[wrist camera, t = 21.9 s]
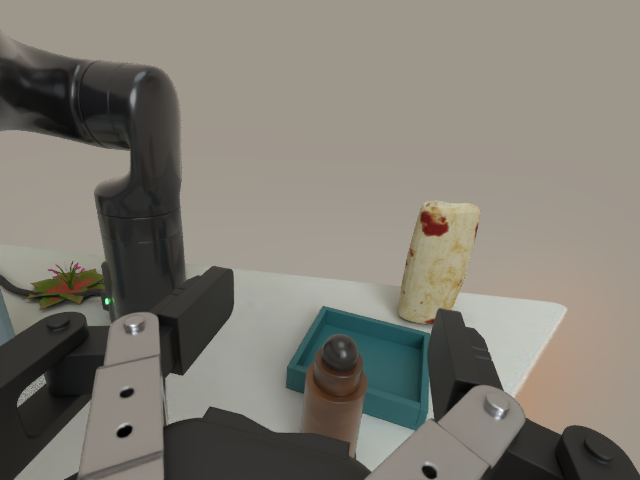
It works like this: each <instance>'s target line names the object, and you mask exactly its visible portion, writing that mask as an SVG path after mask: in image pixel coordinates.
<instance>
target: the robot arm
mask: <svg viewBox="0 0 640 480" xmlns="http://www.w3.org/2000/svg"><path fill="white" fill-rule="evenodd" d="M5 130H21V131H29V132H36V133H40V134H46V135H51V136H55V137H60V138H64V139H68V140H72V141H76V142H80V143H84V144H88V145H92V146H96V147H101V148H107V149H116V150H126V151H130V171H129V172H128V173H127V174H126V175H124V176H120V177H116V178H112V179H109V180H106V181H103V182H101V183H99V184H98V185H97V186H96V188H95V191H94V197H95V203H96V209H97V214H98V220H99V226H100V231H101V236H102V242H103V248H104V253H105V259H106V261H104V262H103V263H102V265H101V268H102V273H103V279H104V284H105V289H89V290H86V291H84V292H76V293H66V294H74V295H75V296H84V297H83V298H85V297H88V296H90V295H101V299H102V305H103V309H104V310H107V311H109V312H110V317H111V323H112V324H111V326H87V321H86V317H85V315H83V314H81V313H78V312H63V313H58V314H54V315H51V316H48V317H46V318H44V319H42V320H40V321H39V322H37V323H35V324H34V325H32V326H31V327H29V328H28V329H26V330H25V331H23V332H21V333H20V334H18V335H17V336H15V337H14V338H12V339H10V340H9V341H7V342H6V343H4V344H3V345H1V346H0V480H13V479H14V478H15V477H16V476H17V475H18V474H19V473H20V472H21V471H22V470H23V469H24V468H25V467H26V466H27V465H28V464H29V463H30V462H31V461H32V460H33V459H34V458H35V457H36V456H37V455H38V454H39V453H40V451H41V450H42V449H43V448H44V447H45V446H46V445H47V444H48V443H49V442H50V441H51V440H52V439H53V438H54V437H55V436H56V435H57V434H58V433H59V432H60V431H61V430H62V429H63V428H64V427H65V426H66V425H67V424H68V423H69V421H70V420H71V419H72V418H73V417H74V416H75V415H76V414H77V413H78V412H79V411H80V410H81V409H82V408H83V407H84V406H85V405H86V404H87V403H88V402H89V401H90V400H91V404H90V410H89V415H88V421H87V427H86V432H85V438H84V444H83V450H82V455H81V461H80V467H79V472H77V473H75V474H74V475H72V476H70V477H68V478H66V479H64V480H640V475H639V473H638V472H637V470H636V468H635V467H634V465H633V463H632V462H631V460H630V459H629V457H628V456H627V455H626V453H625V452H624V451H623V450H622V449H621V448H620V447H619V446H618V445H616V444H615V443H614V442H613V441H611V440H610V439H609V438H607V437H605V436H604V435H602V434H601V433H599V432H597V431H594V430H592V429H590V428H587V427H583V426H576V425H574V426H569V427H567V428H565V430H564V431H563V433H562V435H560V434H558V433H556V432H553V431H551V430H549V429H547V428H545V427H543V426H541V425H538V424H536V423H534V422H532V421H531V420H529V419H527V418H526V417H525V413H524V410H523V408H522V407H521V405H520V404H519V403H518V402H517V401H516V400H515V399H514V398H513V397H512V396H510V395H509V394H508V393H506V392H504V390H503V388H502V385H501V382H500V380H499V377H498V374H497V372H496V369H495V366H494V364H493V361H491V359H492V358H491V356H490V353H489V352H488V348H487V345H486V343H485V340H484V338H483V337H482V336H481V335H480V334H479V333H478V332H477V331H476V330H475V329H474V328H469V327H465V324H464V321H463V318H462V314H461V312H458V311H453V310H447V309H442V308H439V309H438V310H437V313H436V316H435V320H434V324H433V328H432V332H431V336H430V339H429V344H428V350H427V362H428V370H429V379H430V387H431V395H432V404H433V412H434V419H432V418H431V419H428V420H427V421H426V422H425V423H423V424H422V425H421V426H420V427H419V428H418V429H417V430H416V431H415V432H414V433H413V434H412V435H411V436H410V437H409V438H408V439H407V440H405V441H404V442H403V443H402V444H401V445H400V446H399V447H398V448H397V449H396V450H395V451H394V452H393V453H392V454H391V455H390V456H389V457H387V458H386V459H385V460H384V461H383V462H382V463H381V464H380V465H379V466H378V467H377V468H376V469H375V470H374V471H373V472H371V471H370V470H369V469H367V468H366V467H365V466H364V465H363V464H361V463H360V462H359V461H357V460H356V459H354V458H352V457H351V456H349V449H350V442H346V441H342V440H338V439H335V438H331V437H327V436H323V435H319V434H315V433H276V432H273V431H270V430H269V429H267V428H265V427H263V426H261V425H260V424H258V423H256V422H254V421H253V420H251V419H249V418H247V417H245V416H244V415H241V414H237V413H233V412H230V411H226V410H222V409H218V408H214V407H209V408H208V410H207V412H206V413H205V415H204V416H203V418H193V419H186V420H182V421H178V422H175V423H172V424H168V409H167V393H166V381H165V378H166V377H167V376H168V374H169V373H174V374H178V375H182V376H183V375H184V374H185V372H186V371H187V370H188V369H189V367H190V366H191V365H192V364H193V362H194V361H195V360H196V359H197V357H198V356H199V355H200V354H201V352H202V351H203V350H204V349H205V347H206V346H207V345H208V344H209V342H210V341H211V340H212V339H213V337H214V336H215V335H216V334H217V332H218V331H219V330H220V329H221V327H222V326H223V325H224V324H225V322H226V321H227V320H228V319H229V317H230V315H231V313H232V310H233V306H234V275H233V271H232V270H231V269H227V268H222V267H217V266H212V267H211V268H210V269H209V270H207V271H206V272H205V273H204V274H203V275H202V276H199V275H198V276H196V277H193V278H191V279H189V280H186V273H185V261H184V246H183V233H182V221H181V207H180V188H181V181H182V164H181V114H180V105H179V99H178V95H177V91H176V89H175V86H174V84H173V82H172V80H171V79H170V77H169V76H168V75H167V74H166V73H165V72H164V71H163V70H162V69H160V68H158V67H155V66H151V65H143V64H134V63H123V62H112V61H101V60H89V59H78V58H72V57H67V56H63V55H59V54H55V53H51V52H48V51H44V50H41V49H37V48H35V47H31V46H28V45H26V44H23V43H21V42H18V41H16V40H14V39H12V38H10V37H9V36H7V35H5V34H4V33H3V32H2V31H1V30H0V131H5ZM0 284H1V285H2V286H3V287H4V288H5V289H7V290H8V291H10V292H12V293H15V294H18V295H22V296H26V297H28V296H29V294H33V295H36V297H32V298H41V299H42V298H43V297H44V296H37V295H40V294H44V293H45V292H33V291H29V290H24V289H20V288H17V287H15V286H14V285H12V284H11V283H10V282H8V281H7V280H6V279H5V278H4V277H3V276H2V275H0ZM47 296H52V297H58V298H60V297H62V296H60V294H57V295H47ZM42 374H44V376H45V380H46V384H45V385H44V386H43V387H41V388H40V389H39V390H38V391H37V392H36V393H34V394H33V395H32V396H31V397H30V398H28V399H27V400H26V401H25V402H24V403H23V404H21V405H20V406H19V407H18V408H17V401H18V398H19V396H20V394H21V393H22V392H23V390H24V389H25V388H26V387H28V386H29V385H30V384H31V383H32V382H34V381H35V380H36V379H37V378H39V377H40V376H41V375H42Z"/></svg>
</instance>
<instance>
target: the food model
mask: <svg viewBox="0 0 640 480" xmlns="http://www.w3.org/2000/svg"><path fill="white" fill-rule="evenodd" d="M479 217H480V210H479V208H478V207H477V206H475V205H473V204H470V203H448V202H442V201H439V200H437V201H428V202H425V203H424V204H423V205H422V207H421V209H420V212H419V215H418V219H417V222H416V226H415V229H414V233H413V236H412V240H411V244H410V248H409V252H408V256H407V260H406V266H405V271H404V276H403V281H402V287H401V295H400V301H399V306H398V314H399V316H400V317H402V318H403V319H406V320H407V321H410V322H415V323H422V324H434V320H435V316H436V313H437V310H438V309H439V308H442V309H447V310H451V309H452V307H453V305H454V303H455V300H456V298H457V295H458V293H459V291H460V288H461V286H462V283H463V281H464V278H465V275H466V272H467V270H468V267H469V263H470V259H471V255H472V252H473V247H474V242H475V238H476V232H477V228H478V223H479Z"/></svg>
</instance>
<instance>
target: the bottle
mask: <svg viewBox="0 0 640 480" xmlns="http://www.w3.org/2000/svg"><path fill="white" fill-rule="evenodd" d="M14 337H15V333H14V330H13V327H12V324H11V321H10V318H9V314H8V311H7V308H6V305H5V302H4V299H3V295H2V292H1V289H0V346H1V345H3V344H4V343H6V342H7V341H9V340H10V339H12V338H14Z"/></svg>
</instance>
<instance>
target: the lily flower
mask: <svg viewBox="0 0 640 480" xmlns="http://www.w3.org/2000/svg"><path fill="white" fill-rule="evenodd" d="M64 264H65V263H64ZM72 264H73V261H72V263H71V266H72ZM77 265H78V263H77V264H76V265H75V267H76V268H75V267H74V268H73V270H72V272H71V267H70V273H69V272H68V273H64V272H63V270H62V269H61V268H60V267H59V266H58V265H56V266H57V267H58V268H60V269H61V271H62V273H60V272H57V271H54V270H52V269H48V271H53V272H54V273H55V274H57V273H59V274H60V275H59V274H57V276H55V277H53V278H54V279H48V280H43V281H39V282H37V283H31V284H32V285H33V286H34V287H35V288H36V289H35V290H34V291H33V292H45V293H44V294H40V295H37V296H44V297H43V298H42V299H41V300H40V306H41V307H40V309H43V308H45V307H48V306H50V305H53V304H55V303H58V302H61V301H63V300H66V299H69V300H72V301H74V302H77V303H78V304H80V303H81V301H82V299H83V297H84V296H75V295H74V294H66V293H76V292H84V291H86V290H89V289H105V285H104V284H101V283H97V282H99V281H100V280H103V275H101V274H96V271H95V270H96V269H94V270H89V271H84V268H83V269H82V270H81V272H80V273H75V270H77V269H79V268H81V267H78V268H77ZM74 269H75V270H74ZM65 270H66V269H65ZM66 271H67V270H66ZM82 271H83V272H82ZM57 294H60V296H62V297H60V298H58V297H52V296H47V295H57ZM32 297H36V295H33V294H29V296H28V297H26V298H25V299H28V298H32ZM23 300H24V299H23ZM40 309H39V310H40Z"/></svg>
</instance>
